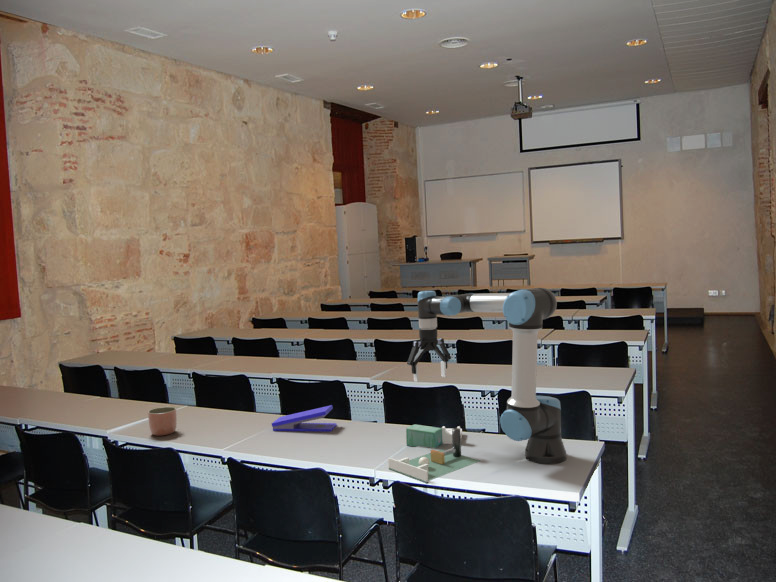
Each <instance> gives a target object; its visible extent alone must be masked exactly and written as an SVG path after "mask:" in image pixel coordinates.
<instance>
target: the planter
mask: <svg viewBox="0 0 776 582" xmlns="http://www.w3.org/2000/svg"><path fill="white" fill-rule="evenodd" d="M147 418H148V426H149V430H150V433H151V434H152V435H153V436H157V437H159V436H161V437H163V436H168V435H170V434H173V433H174V432H175V431H176V429H177V423H178V422H177V421H178V420H177V419H178V418H177V408H176V407H174V406H161V407H155V408H152V409H149V410H148V411H147Z"/></svg>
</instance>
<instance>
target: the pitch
mask: <svg viewBox="0 0 776 582" xmlns="http://www.w3.org/2000/svg"><path fill="white" fill-rule="evenodd" d="M445 450H446V449H443V448H442V449H438V450H437V451H439V452H442V451H445ZM422 457H426V458H428V459H429V462H430V464H429V466H428V464H424V465H421V466H419V459H420V458H422ZM444 458H445V464H443V465H442V464H439V463H436V462H433V461H431V452H430V453H427V454H426V453H425V454H424V455H421V456H418V457H415V458H412V459H410V457H407V456H406V457H404V458H401V459H394V458H392V457H388V459H387V461H388V470H389V471H391V472H395V473H396V474H400V475H403V476H406V477H409V478H411V479H414V480H416V481H419V482H421V483H425V484H430V482H429V481H432V480H434V479H436V478H440V477H442V476H445V475H447V474H450V473H452V472H455V471H457V470H458V471H459V470H460V469H463V468H465V467H468V466H470V465H473V464H477V463H478V462H481V460H480V459H475V458H473V457H469V456H466V455H463V454H461V456H459V457H455V456H453V453H452V454H449V455H446V456H444Z"/></svg>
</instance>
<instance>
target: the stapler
mask: <svg viewBox="0 0 776 582" xmlns="http://www.w3.org/2000/svg"><path fill="white" fill-rule="evenodd" d="M333 408H334V407H333V405H332V404H330V405H326V406H322V407H321V406H320V407H318V408H314V409H309V410H305V411H300V412H295V413H292V414H287V415H283V416H279V417H278V418H277V419H275V420H274V421H273V422H271V426H272V432H326V433H327V432H328V433H329V432H332V431H333V430H334V427H335V428H336V427H337V423H336V422H312V421H315V420H321V419H324V418H325V417H326V416H327V415H328V414H329V413H330V412H331V411H332V410H333ZM310 421H311V422H310Z"/></svg>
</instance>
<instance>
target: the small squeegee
mask: <svg viewBox="0 0 776 582" xmlns="http://www.w3.org/2000/svg"><path fill="white" fill-rule="evenodd" d="M451 429H452V444H451V445H452V447H451V448H449V449H444V450H445V451H442V452H439V451H438V450H436V449H430V453H431V461H433V462H436V463H439V464H442V465H443V464H445V458H444V456H446V455H449V454H452V453H453V456H455V457H459V456H461V455H462V438H461V432H460V429H461V428H460V429H458V428H457V427H455V428H451Z"/></svg>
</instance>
